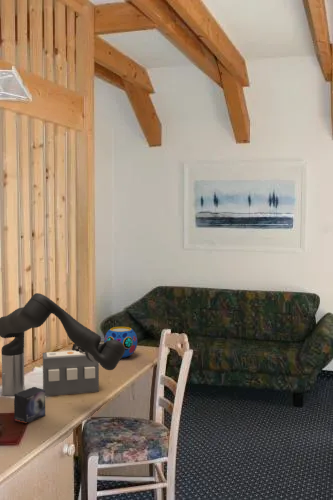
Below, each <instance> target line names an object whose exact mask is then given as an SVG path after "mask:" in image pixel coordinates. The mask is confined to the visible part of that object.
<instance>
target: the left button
mask: <svg viewBox="0 0 333 500" xmlns="http://www.w3.org/2000/svg"><path fill="white" fill-rule="evenodd" d="M48 380H49V381H59V368H57V369H48Z"/></svg>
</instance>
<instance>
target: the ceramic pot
mask: <svg viewBox="0 0 333 500" xmlns="http://www.w3.org/2000/svg"><path fill="white" fill-rule="evenodd" d="M137 336H138V335H137V333H136V332H135V330H134V329H133V328H131V327H129V326H114V327H111V328H110V329H109V330H107V332H105V336H104V342H103V343H105V342H106V341H108V340H117V341H120V342H121V343H122V344H123V345H124V347H125V353H124V355H123V356H122V358H121V359H123V358H127V357H131V355H133V354H134V353H135V351H136V350H137V346H138V337H137Z"/></svg>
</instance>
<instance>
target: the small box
mask: <svg viewBox="0 0 333 500" xmlns="http://www.w3.org/2000/svg"><path fill="white" fill-rule="evenodd" d="M13 399H14V400H13V401H14V403H13V406H14V408H13V409H14V412H13V413H14V415H13V416H14V418H13V420H14V419H17V420H20V421H24V422H29V423H32V422H34V421H37V420H38V419H42V418H44V417H46V396H45V390H44V389H43V388H41V387H37V386H33V387H30V388H27V389H25V390H24V391H21V392H18V393H15V394H14V396H13ZM29 423H28V424H29Z"/></svg>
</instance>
